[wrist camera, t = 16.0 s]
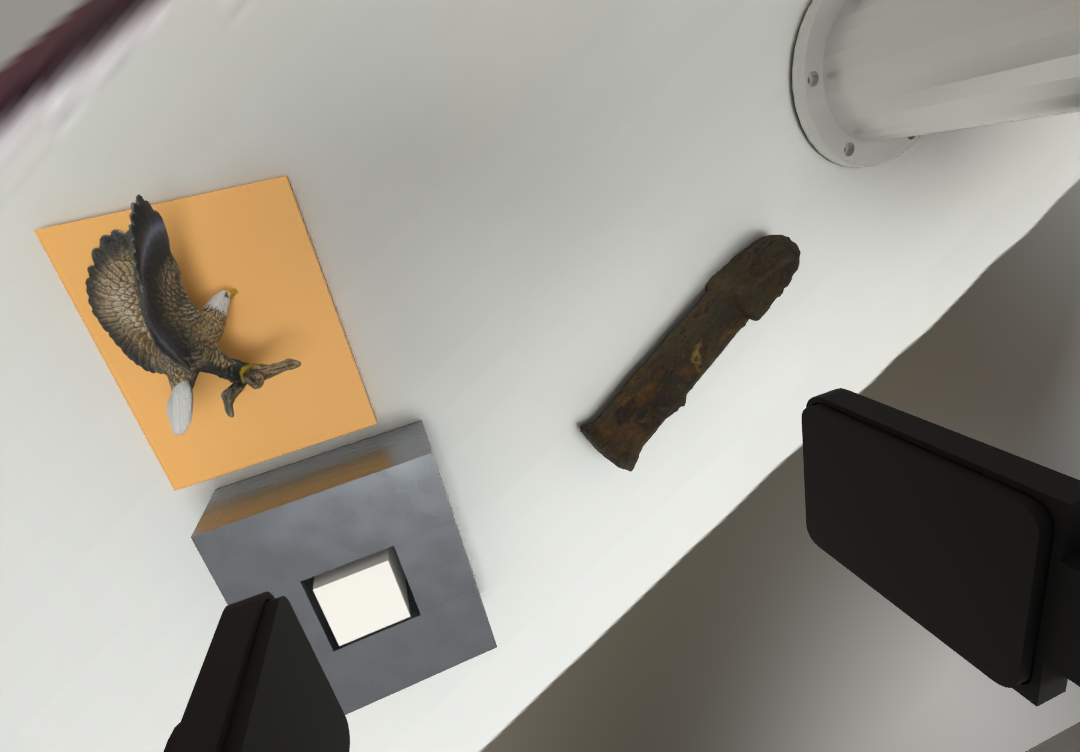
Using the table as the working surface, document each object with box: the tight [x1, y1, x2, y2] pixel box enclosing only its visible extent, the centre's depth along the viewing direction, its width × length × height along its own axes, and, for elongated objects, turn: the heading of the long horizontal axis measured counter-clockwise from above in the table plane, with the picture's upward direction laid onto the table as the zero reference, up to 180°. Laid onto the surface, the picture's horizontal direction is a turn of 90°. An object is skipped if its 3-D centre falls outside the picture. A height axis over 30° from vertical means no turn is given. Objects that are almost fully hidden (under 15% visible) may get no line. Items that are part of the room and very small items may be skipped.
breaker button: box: [313, 546, 410, 646], centre depth 31 cm, size 4×4×4 cm
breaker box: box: [191, 421, 497, 715], centre depth 32 cm, size 12×14×5 cm
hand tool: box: [580, 235, 800, 472], centre depth 36 cm, size 19×4×5 cm, turn 135°
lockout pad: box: [34, 176, 377, 490], centre depth 28 cm, size 11×14×1 cm
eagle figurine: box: [85, 195, 301, 435], centre depth 24 cm, size 8×7×9 cm
